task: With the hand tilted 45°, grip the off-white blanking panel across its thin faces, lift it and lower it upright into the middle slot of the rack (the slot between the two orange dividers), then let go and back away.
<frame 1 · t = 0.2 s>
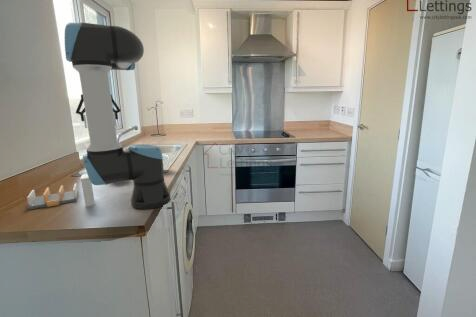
hand: (101, 126, 134), 27 cm above the worktop, tool pointing down, fingers open, 13 cm apart
small box: (158, 171, 149), on the worktop
blanking panel: (90, 203, 105), on the worktop
rack: (55, 200, 109), on the worktop
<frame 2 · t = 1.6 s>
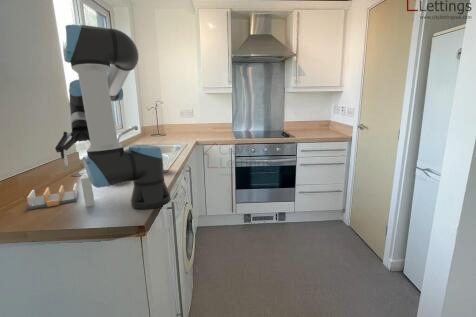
hand: (84, 161, 111), 15 cm above the worktop, tool tilted 45°, fingers open, 13 cm apart
nothing on the worktop moved.
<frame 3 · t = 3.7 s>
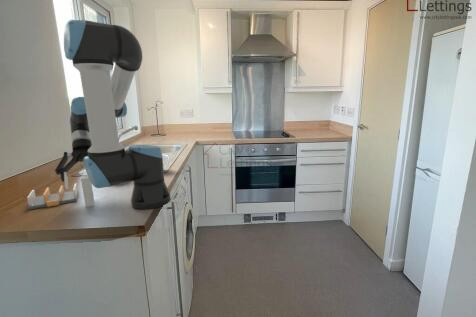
hand: (86, 184, 104), 8 cm above the worktop, tool tilted 45°, fingers open, 13 cm apart
nothing on the worktop moved.
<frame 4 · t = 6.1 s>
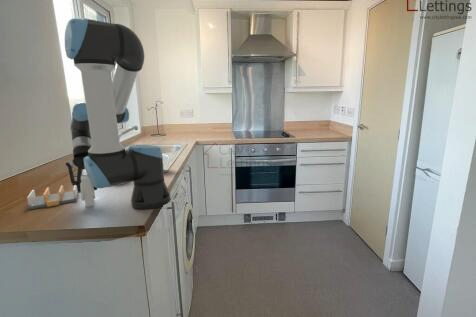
hand: (88, 197, 101), 4 cm above the worktop, tool tilted 45°, fingers closed on blanking panel, 3 cm apart
blanking panel: (90, 203, 105), on the worktop, touching gripper
everything else where it was.
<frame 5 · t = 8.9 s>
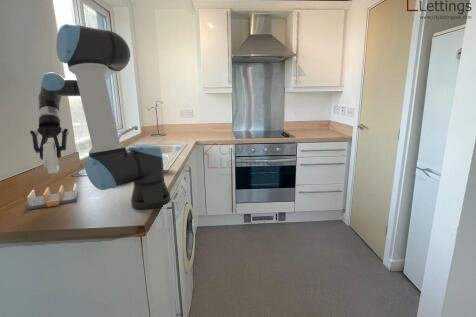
hand: (50, 164, 102), 16 cm above the worktop, tool tilted 45°, fingers closed on blanking panel, 3 cm apart
blanking panel: (54, 171, 106), point 13 cm above the worktop, touching gripper
everything else where it was.
when the fingers open (6 cm above the worktop, at t = 12.0 s): blanking panel drops 1 cm, resting on rack.
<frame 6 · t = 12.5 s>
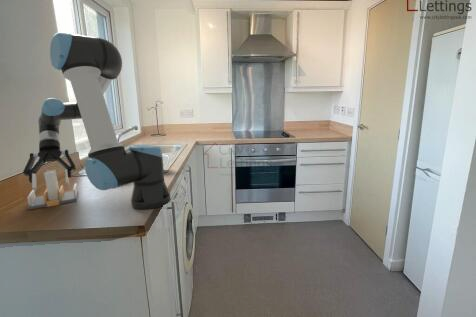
hand: (51, 186, 105), 7 cm above the worktop, tool tilted 45°, fingers open, 10 cm apart
blanking panel: (55, 197, 109), point 1 cm above the worktop, touching rack
everything else where it was.
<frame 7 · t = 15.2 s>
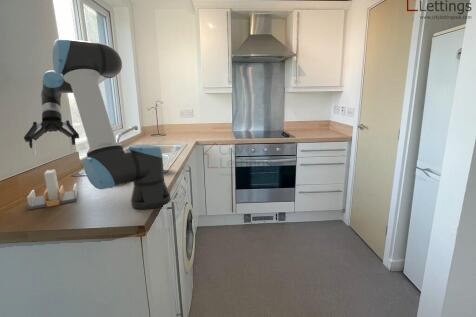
hand: (53, 151, 113), 19 cm above the worktop, tool tilted 45°, fingers open, 13 cm apart
nothing on the worktop moved.
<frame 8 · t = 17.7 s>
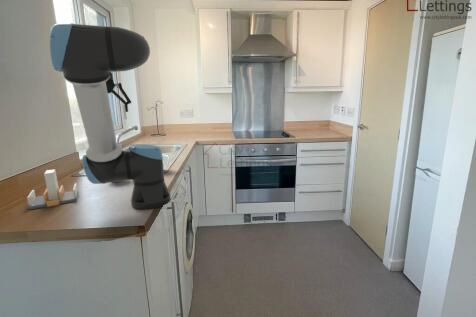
hand: (109, 120, 119), 32 cm above the worktop, tool pointing down, fingers open, 13 cm apart
nothing on the worktop moved.
at the end: blanking panel 0.0 cm off-centre on the rack, point 1.2 cm above the rack's base; blanking panel tilted 0°; the gripper is holding nothing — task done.
